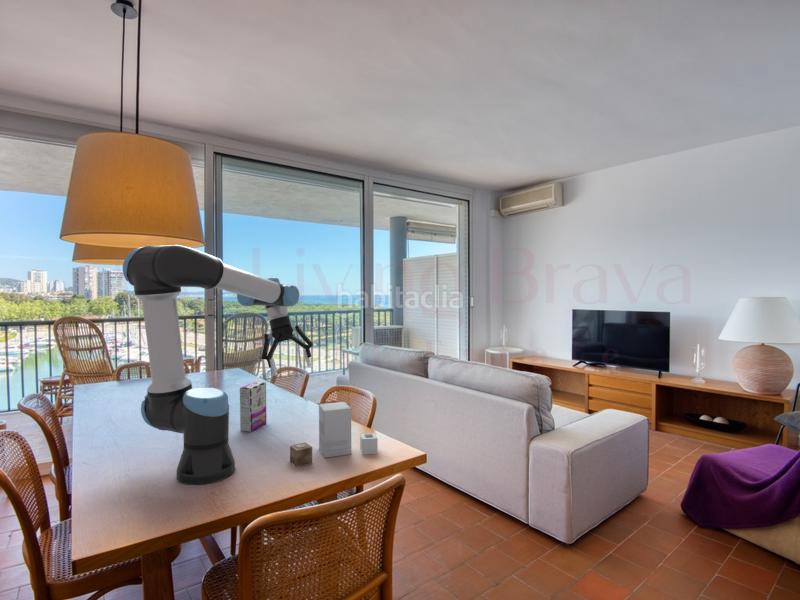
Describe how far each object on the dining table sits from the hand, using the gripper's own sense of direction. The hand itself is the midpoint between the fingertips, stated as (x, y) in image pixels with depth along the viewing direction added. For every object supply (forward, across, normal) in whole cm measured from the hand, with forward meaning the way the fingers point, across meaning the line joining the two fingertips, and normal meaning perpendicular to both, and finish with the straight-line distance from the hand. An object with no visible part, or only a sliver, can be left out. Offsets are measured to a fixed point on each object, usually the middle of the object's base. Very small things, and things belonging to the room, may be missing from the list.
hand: (292, 371), depth 164 cm
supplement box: (+27, -15, +24) cm, 39 cm away
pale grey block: (+30, -25, +23) cm, 46 cm away
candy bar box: (+17, +20, +2) cm, 26 cm away
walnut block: (+25, -7, +33) cm, 42 cm away
